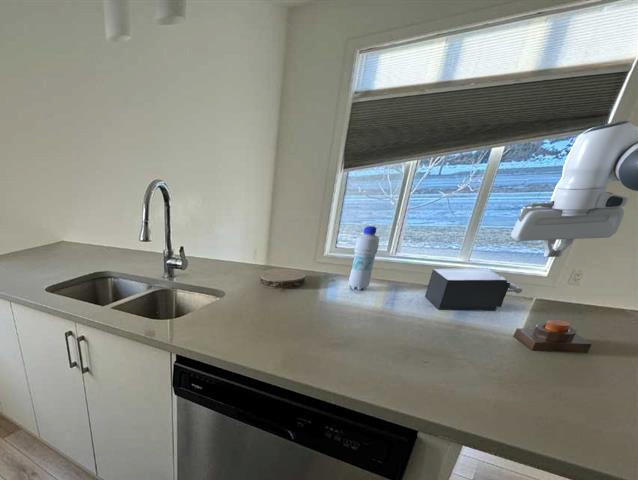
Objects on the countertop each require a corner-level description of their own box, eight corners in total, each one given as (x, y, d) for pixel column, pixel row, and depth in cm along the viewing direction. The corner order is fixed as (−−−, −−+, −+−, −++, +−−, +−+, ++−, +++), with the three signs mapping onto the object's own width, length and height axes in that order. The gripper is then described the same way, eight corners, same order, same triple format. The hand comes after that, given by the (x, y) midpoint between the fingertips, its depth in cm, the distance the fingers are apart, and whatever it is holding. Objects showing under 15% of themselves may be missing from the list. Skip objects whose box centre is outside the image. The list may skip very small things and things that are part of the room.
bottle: (371, 291, 132) (385, 227, 122) (348, 291, 134) (361, 228, 124) (366, 285, 138) (380, 223, 128) (345, 285, 140) (356, 224, 130)
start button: (560, 327, 92) (563, 319, 91) (570, 333, 89) (574, 325, 88) (540, 326, 93) (544, 319, 92) (550, 332, 90) (553, 325, 89)
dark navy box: (476, 297, 121) (487, 268, 117) (495, 310, 111) (507, 280, 107) (424, 296, 125) (432, 268, 120) (438, 309, 115) (447, 280, 111)
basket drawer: (501, 294, 118) (511, 271, 115) (520, 307, 110) (531, 282, 106) (434, 294, 123) (441, 272, 120) (447, 306, 115) (455, 282, 111)
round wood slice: (258, 288, 144) (258, 280, 143) (260, 276, 157) (260, 268, 156) (306, 289, 139) (307, 280, 138) (303, 276, 152) (305, 268, 151)
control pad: (564, 338, 95) (572, 322, 93) (587, 353, 88) (596, 336, 86) (512, 336, 98) (519, 321, 96) (531, 351, 91) (538, 334, 89)
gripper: (530, 204, 100) (509, 260, 107) (638, 198, 94) (609, 258, 101) (517, 201, 105) (498, 255, 112) (618, 195, 100) (592, 252, 106)
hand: (551, 256), depth 107 cm, fingers closed
